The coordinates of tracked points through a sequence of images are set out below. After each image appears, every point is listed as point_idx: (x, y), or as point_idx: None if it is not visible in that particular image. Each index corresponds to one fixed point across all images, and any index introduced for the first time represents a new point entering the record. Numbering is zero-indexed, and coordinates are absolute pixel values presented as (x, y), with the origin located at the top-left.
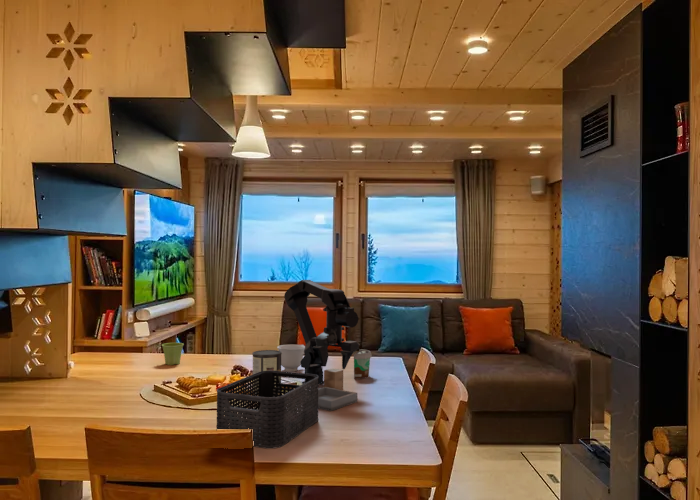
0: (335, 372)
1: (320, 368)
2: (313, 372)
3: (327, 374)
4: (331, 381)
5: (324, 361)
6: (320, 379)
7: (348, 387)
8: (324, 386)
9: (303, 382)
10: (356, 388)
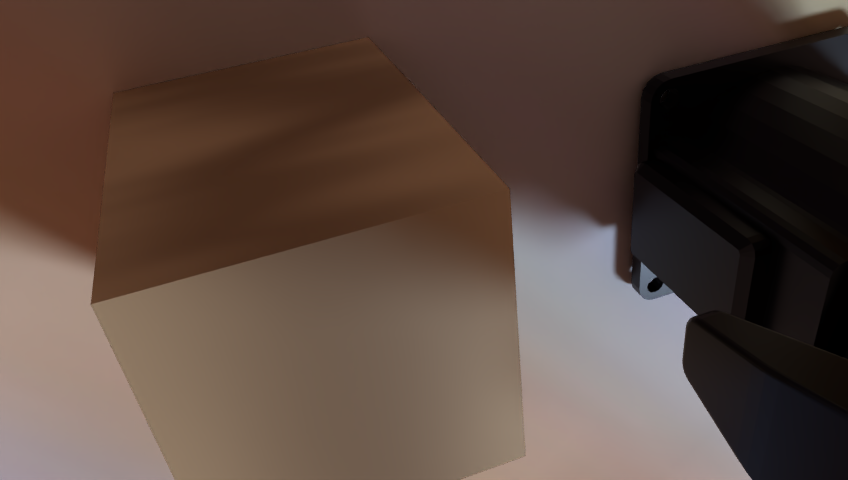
0: (102, 317)
1: (801, 338)
2: (832, 183)
3: (358, 176)
4: (208, 145)
5: (761, 434)
6: (661, 222)
7: None
8: (368, 55)
9: (845, 31)
10: (109, 460)
